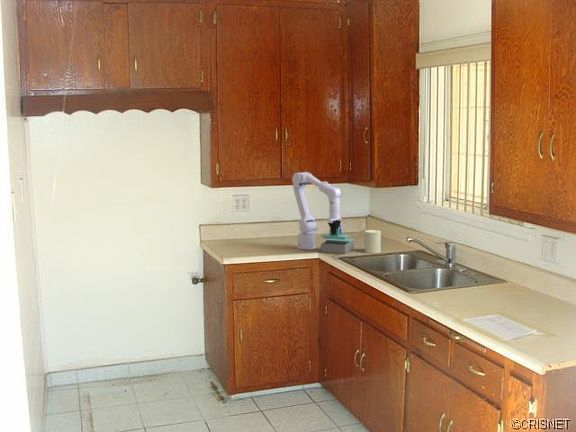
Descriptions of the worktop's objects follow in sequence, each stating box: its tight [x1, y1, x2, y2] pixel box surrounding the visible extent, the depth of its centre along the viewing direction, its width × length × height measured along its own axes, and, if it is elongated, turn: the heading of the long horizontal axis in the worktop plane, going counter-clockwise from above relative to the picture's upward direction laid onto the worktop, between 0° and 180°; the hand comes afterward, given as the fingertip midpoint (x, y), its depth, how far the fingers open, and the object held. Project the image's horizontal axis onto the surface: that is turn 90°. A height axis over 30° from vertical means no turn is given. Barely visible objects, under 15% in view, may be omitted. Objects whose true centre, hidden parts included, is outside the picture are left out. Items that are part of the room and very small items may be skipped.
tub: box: [320, 238, 355, 255], centre depth 392 cm, size 14×16×6 cm
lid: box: [320, 228, 350, 240], centre depth 387 cm, size 14×8×5 cm, turn 67°
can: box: [363, 229, 382, 254], centre depth 389 cm, size 9×9×12 cm
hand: (334, 234), depth 386 cm, fingers closed on lid
